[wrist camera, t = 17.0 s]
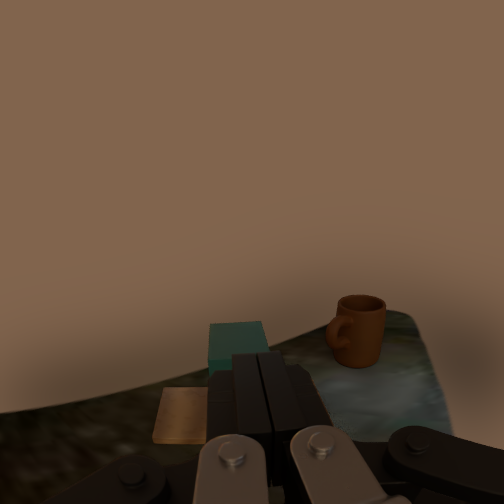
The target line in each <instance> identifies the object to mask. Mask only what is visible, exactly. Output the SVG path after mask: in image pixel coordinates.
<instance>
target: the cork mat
mask: <svg viewBox="0 0 504 504" xmlns="http://www.w3.org/2000/svg"><path fill="white" fill-rule="evenodd" d="M312 381H313V380H312ZM313 384H314V382H313ZM314 385H315V384H314ZM315 387H316V386H315ZM207 391H208V387H164V389H163V393H162V397H161V401H160V406H159V410H158V414H157V419H156V423H155V427H154V432H153V436H152V439H153V442H154V443H158V444H205V443H206V423H207V394H208V392H207ZM317 392H318V391H317ZM318 394H319V393H318ZM319 396H320V395H319ZM320 398H321V397H320ZM321 400H322V399H321ZM322 402H323V401H322ZM323 404H324V403H323ZM324 407H325V406H324ZM325 409H326V408H325ZM326 411H327V410H326ZM327 413H328V412H327ZM328 415H329V414H328ZM329 417H330V416H329ZM330 420H331V418H330ZM331 422H332V421H331ZM332 424H333V423H332ZM333 426H334V425H333Z"/></svg>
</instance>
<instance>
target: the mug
mask: <svg viewBox="0 0 504 504" xmlns="http://www.w3.org/2000/svg"><path fill="white" fill-rule="evenodd" d="M385 318H386V304H385V302H384V301H383V300H381V299H379V298H377V297H373V296H368V295H350V296H346V297H343V298H341V299H340V300H339V301H338V307H337V313H336V317H335V318H333V320H332V321H331V322H330V323H329V325H328V327H327V330H326V342H327V344H328V346H329V347H330V348H332V349H334V350H333V353H334V357H335V359H336V361H337V362H339V363H340V364H342V365H344V366H347V367H351V368H365V367H369V366H371V365H373V364H374V363H375V362H376V361H377V360H378V358H379V355H380V350H381V344H382V339H383V332H384V325H385Z"/></svg>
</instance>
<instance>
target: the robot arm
mask: <svg viewBox="0 0 504 504" xmlns="http://www.w3.org/2000/svg"><path fill="white" fill-rule="evenodd" d="M231 355H232V370H215V371H214V373H213V374H212V375H211V377H210V378H209V379H208V391H207V392H208V394H207V423H206V443H205V445H204V446H203V447H202V449H201V451H200V453H199V454H197V455H196V456H195V457H193V458H192V459H190V460H187V461H185V462H182V463H178V464H173V465H168V466H163V467H162V466H161V465H160V464H159V463H158V462H157V461H155V460H154V459H152V458H149V457H147V456H143V455H126V456H122V457H119V458H116V459H115V460H113V461H111V462H110V463H108V464H106V465H105V466H103V467H101V468H100V469H98V470H97V471H95V472H93V473H92V474H90V475H88V476H87V477H85V478H83V479H82V480H80V481H78V482H76V483H75V484H73V485H71V486H69V487H68V488H66V489H64V490H62V491H61V492H59V493H57V494H55V495H53V496H51V497H50V498H48V499H46V500H44V501H42V502H40V503H38V504H269V500H268V487H270V483H271V480H272V485H273V486H282V485H283V489H284V494H285V502H284V504H504V450H501V449H497V448H493V447H490V446H486V445H482V444H478V443H475V442H471V441H468V440H464V439H461V438H458V437H454V436H451V435H448V434H445V433H442V432H439V431H435V430H432V429H429V428H426V427H422V426H407V427H404V428H401V429H399V430H397V431H396V432H394V433H393V434H392V435H391V437H390V439H389V441H388V442H358V441H353V440H351V438H350V437H349V436H348V435H347V434H346V433H345V432H344V431H342V430H340V429H338V428H336V427H334V426H333V424H332V422H331V420H330V417H329V415H328V413H327V411H326V409H325V407H324V404H323V402H322V400H321V398H320V396H319V394H318V392H317V389H316V387H315V385H314V384H313V381H312V379H311V377H310V374H309V372H307V371H306V370H305V369H303V368H302V367H301V366H299V365H298V364H296V365H285V363H284V360H283V357H282V354H281V352H280V351H269V352H257V353H256V355H255V353H240V354H231ZM424 488H425V489H424ZM427 489H428V490H427ZM430 490H431V491H430ZM433 491H434V492H433ZM436 492H437V493H436ZM439 493H440V494H439ZM442 494H443V495H442ZM445 495H446V496H445ZM448 496H449V497H448ZM451 497H452V498H451ZM454 498H456V499H454Z"/></svg>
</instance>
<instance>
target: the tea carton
mask: <svg viewBox="0 0 504 504" xmlns="http://www.w3.org/2000/svg"><path fill="white" fill-rule="evenodd" d="M269 351H270V350H269V347H268V343H267V340H266V337H265V333H264V330H263V327H262V323H261V321H256V322H238V323H219V324H210V332H209V349H208V366H209V375H210V377H211V375H212V374H213V373H214V371H215V370H232V355H231V354H240V353H255V355H256V353H257V352H269Z"/></svg>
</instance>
